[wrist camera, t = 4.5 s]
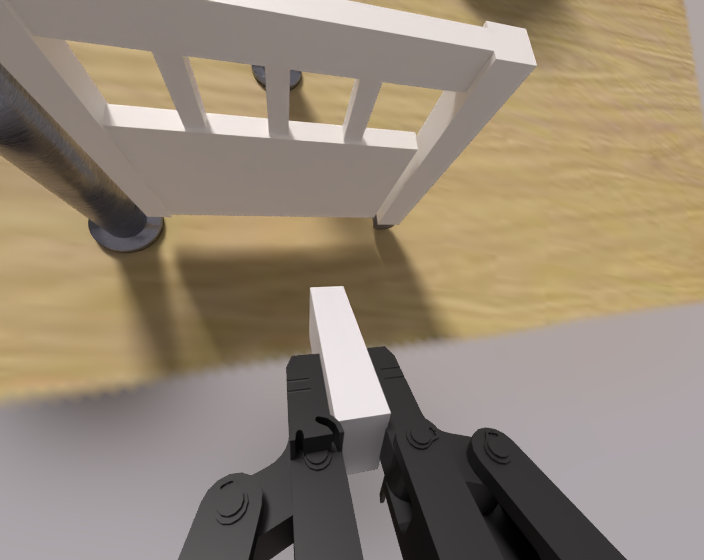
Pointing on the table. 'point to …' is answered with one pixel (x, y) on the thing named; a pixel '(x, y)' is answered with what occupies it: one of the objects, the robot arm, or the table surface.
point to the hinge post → (69, 171)
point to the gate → (277, 131)
